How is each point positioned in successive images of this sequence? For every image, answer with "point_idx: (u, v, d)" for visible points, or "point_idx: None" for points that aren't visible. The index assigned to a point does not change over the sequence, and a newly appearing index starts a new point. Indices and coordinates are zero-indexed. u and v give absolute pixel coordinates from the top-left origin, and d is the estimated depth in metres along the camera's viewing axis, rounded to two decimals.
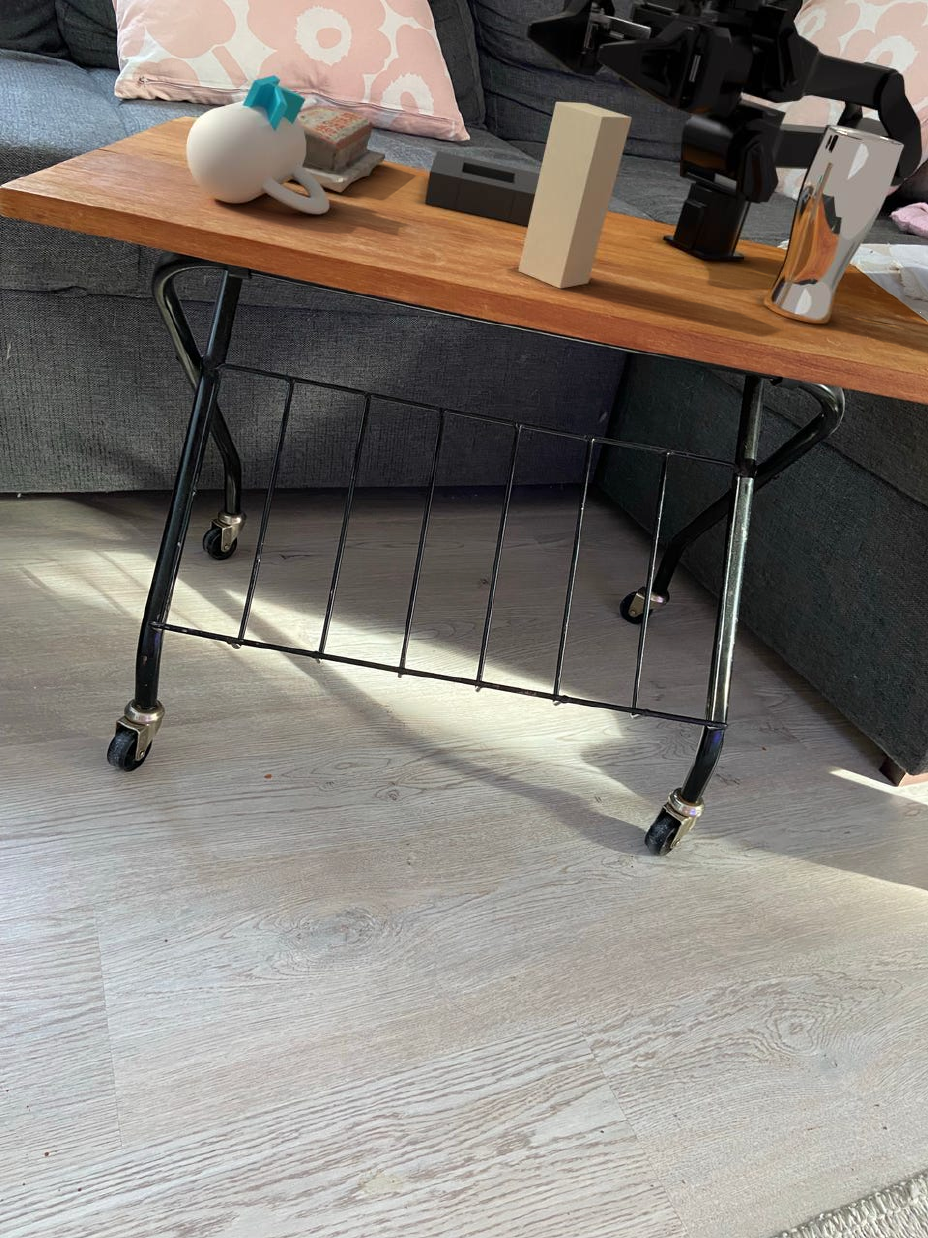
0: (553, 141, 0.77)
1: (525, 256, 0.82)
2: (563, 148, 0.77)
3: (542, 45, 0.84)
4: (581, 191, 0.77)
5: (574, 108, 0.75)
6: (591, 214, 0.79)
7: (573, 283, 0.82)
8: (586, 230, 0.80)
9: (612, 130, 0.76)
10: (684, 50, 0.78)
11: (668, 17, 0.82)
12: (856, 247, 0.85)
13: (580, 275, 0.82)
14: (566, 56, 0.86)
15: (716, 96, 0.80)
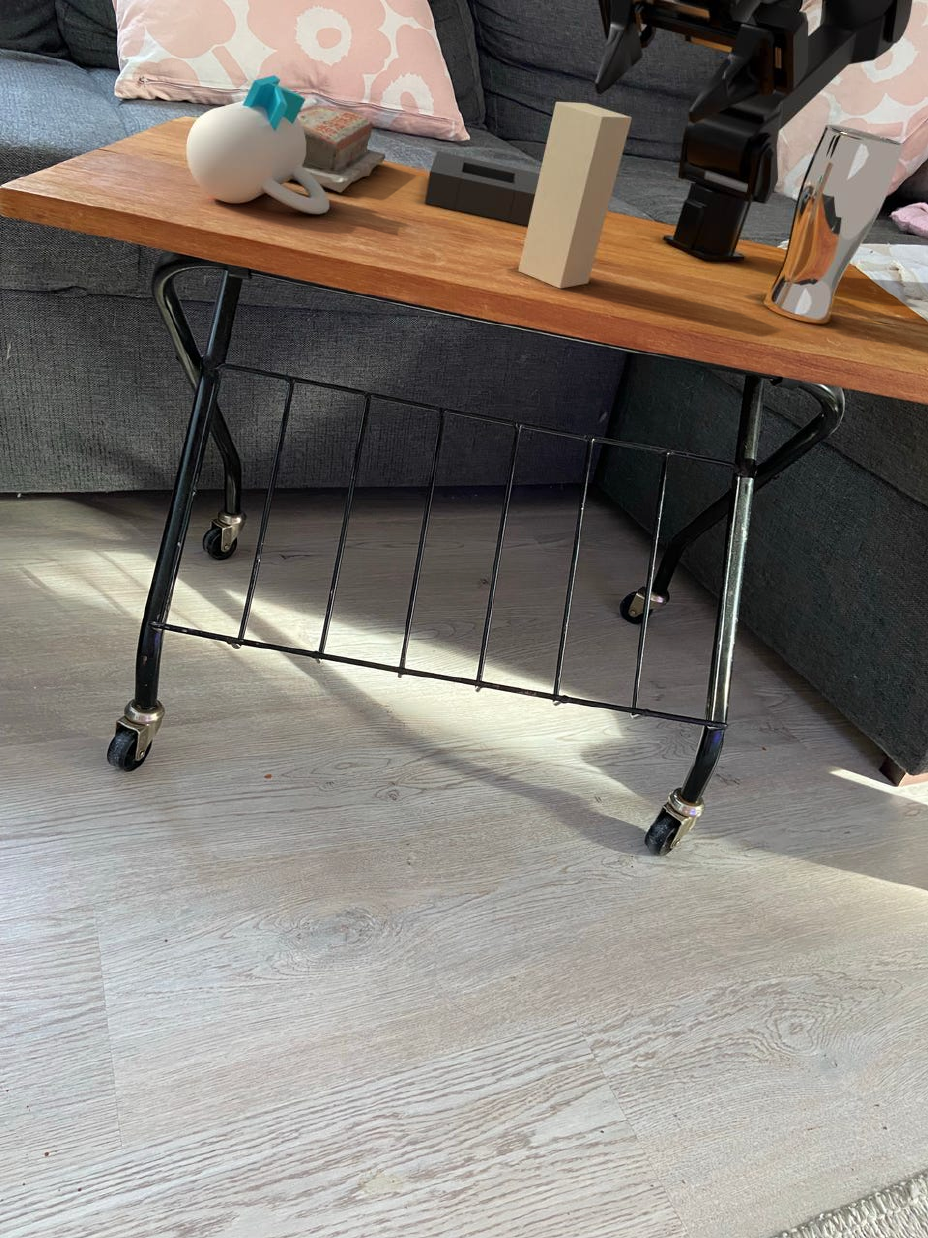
0: (553, 141, 0.77)
1: (525, 256, 0.82)
2: (563, 148, 0.77)
3: (612, 84, 0.84)
4: (581, 191, 0.77)
5: (574, 108, 0.75)
6: (591, 214, 0.79)
7: (573, 283, 0.82)
8: (586, 230, 0.80)
9: (612, 130, 0.76)
10: (764, 54, 0.78)
11: None
12: (856, 247, 0.85)
13: (580, 275, 0.82)
14: (630, 60, 0.85)
15: (806, 62, 0.80)
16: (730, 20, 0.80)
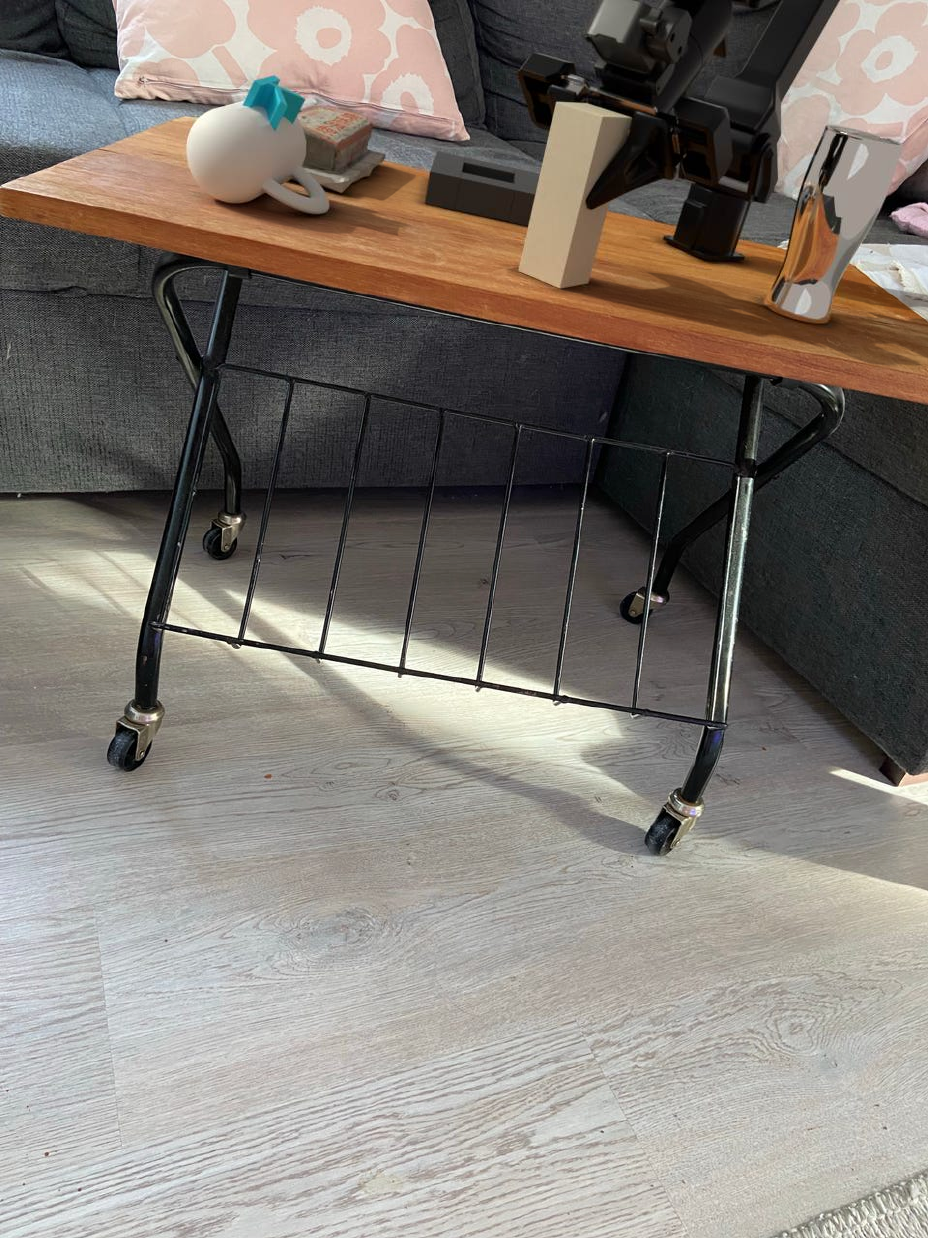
0: (553, 141, 0.77)
1: (525, 256, 0.82)
2: (563, 148, 0.77)
3: None
4: (581, 192, 0.77)
5: (574, 108, 0.75)
6: (591, 214, 0.79)
7: (573, 283, 0.82)
8: (586, 230, 0.80)
9: (612, 131, 0.76)
10: (660, 141, 0.76)
11: (643, 84, 0.77)
12: (856, 247, 0.85)
13: (580, 275, 0.82)
14: None
15: (731, 155, 0.77)
16: None
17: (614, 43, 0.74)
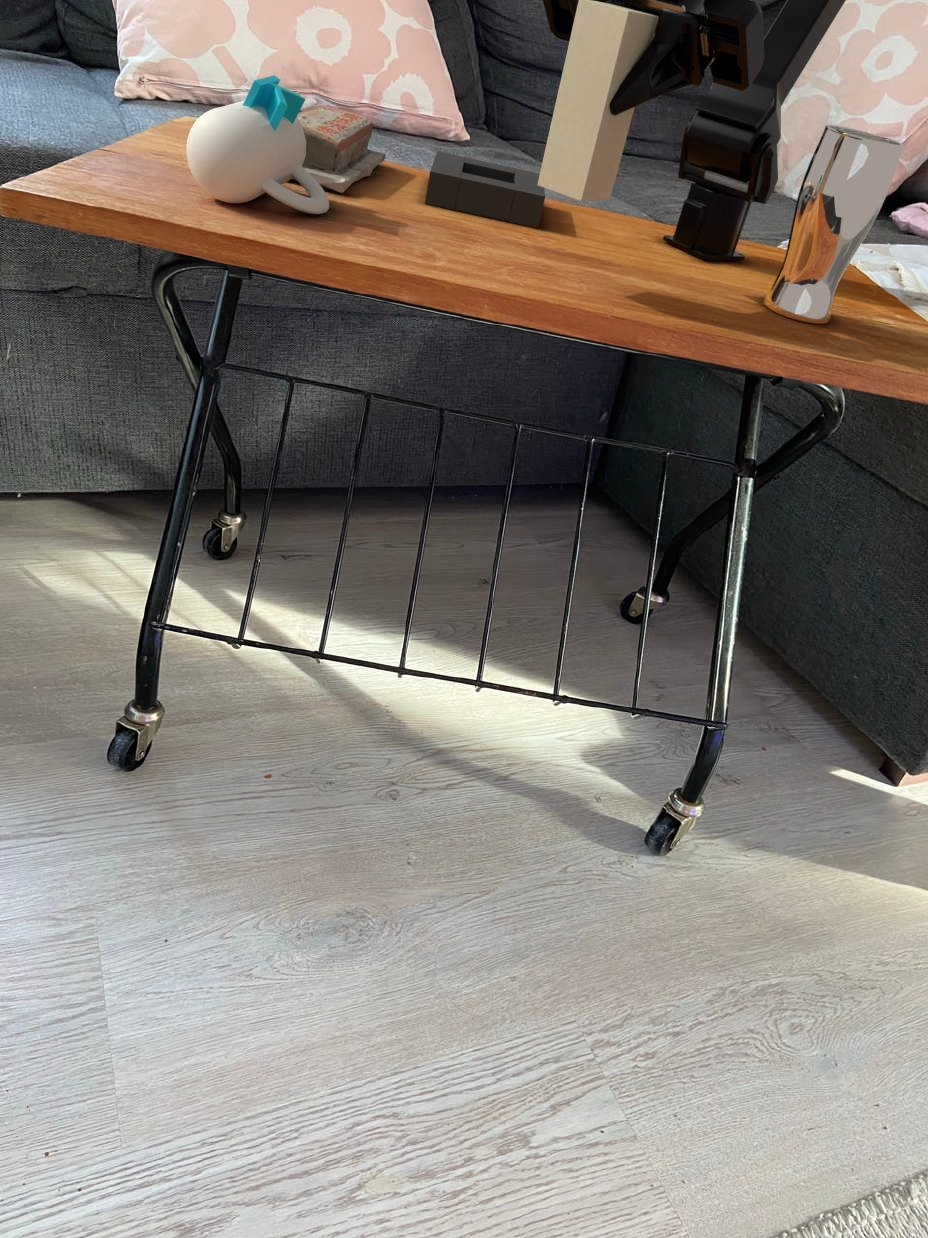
0: (576, 41, 0.73)
1: (545, 168, 0.78)
2: (587, 48, 0.73)
3: None
4: (605, 94, 0.73)
5: (598, 4, 0.71)
6: (615, 122, 0.75)
7: (595, 197, 0.78)
8: (610, 139, 0.76)
9: (638, 29, 0.72)
10: (688, 40, 0.72)
11: None
12: (856, 247, 0.85)
13: (602, 189, 0.79)
14: None
15: (762, 56, 0.73)
16: None
17: None
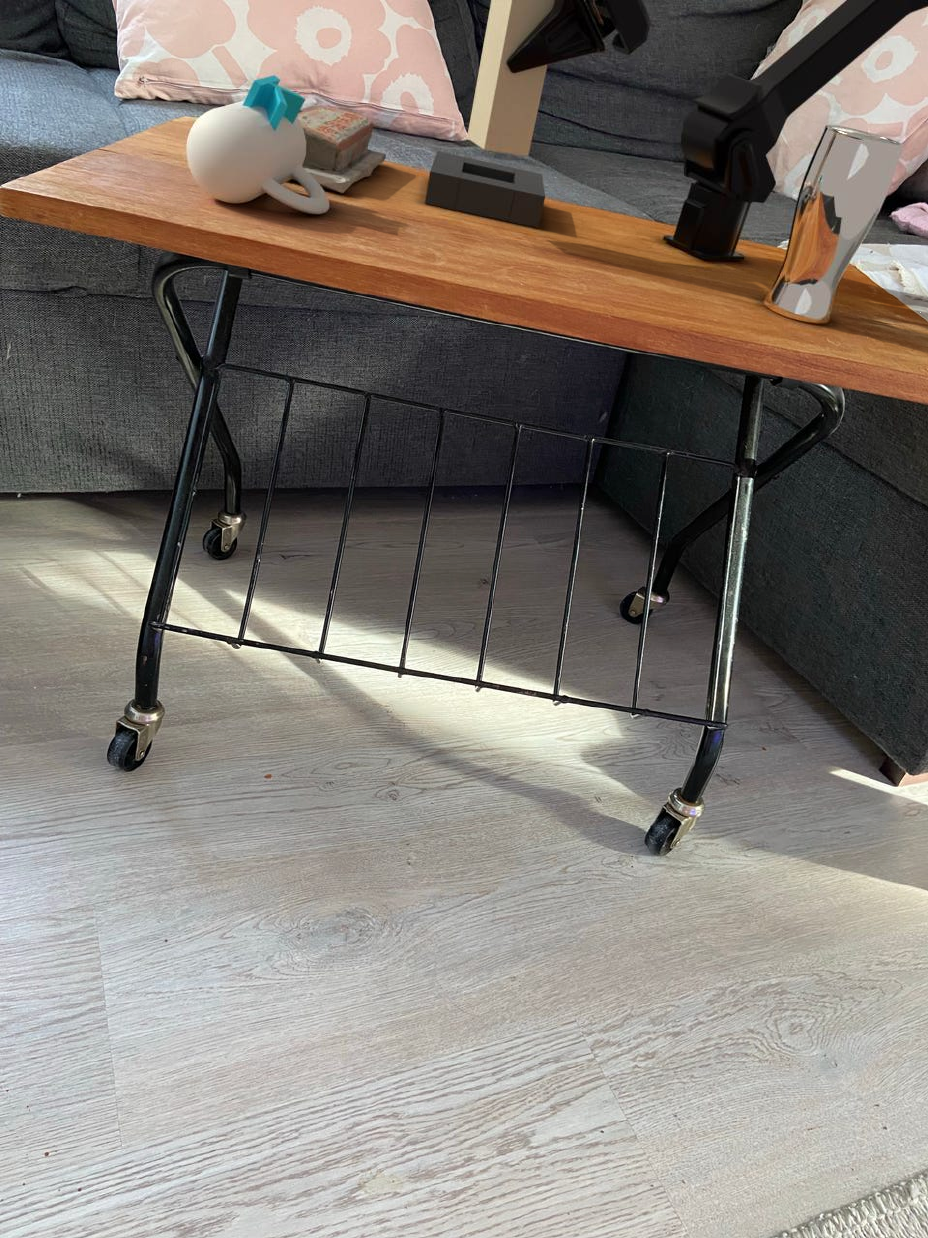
0: (492, 9, 0.84)
1: (471, 123, 0.89)
2: (496, 14, 0.83)
3: None
4: (501, 53, 0.83)
5: None
6: (519, 80, 0.85)
7: (504, 149, 0.88)
8: (514, 96, 0.85)
9: None
10: (578, 7, 0.80)
11: None
12: (856, 247, 0.85)
13: (514, 143, 0.88)
14: None
15: (644, 23, 0.78)
16: None
17: None
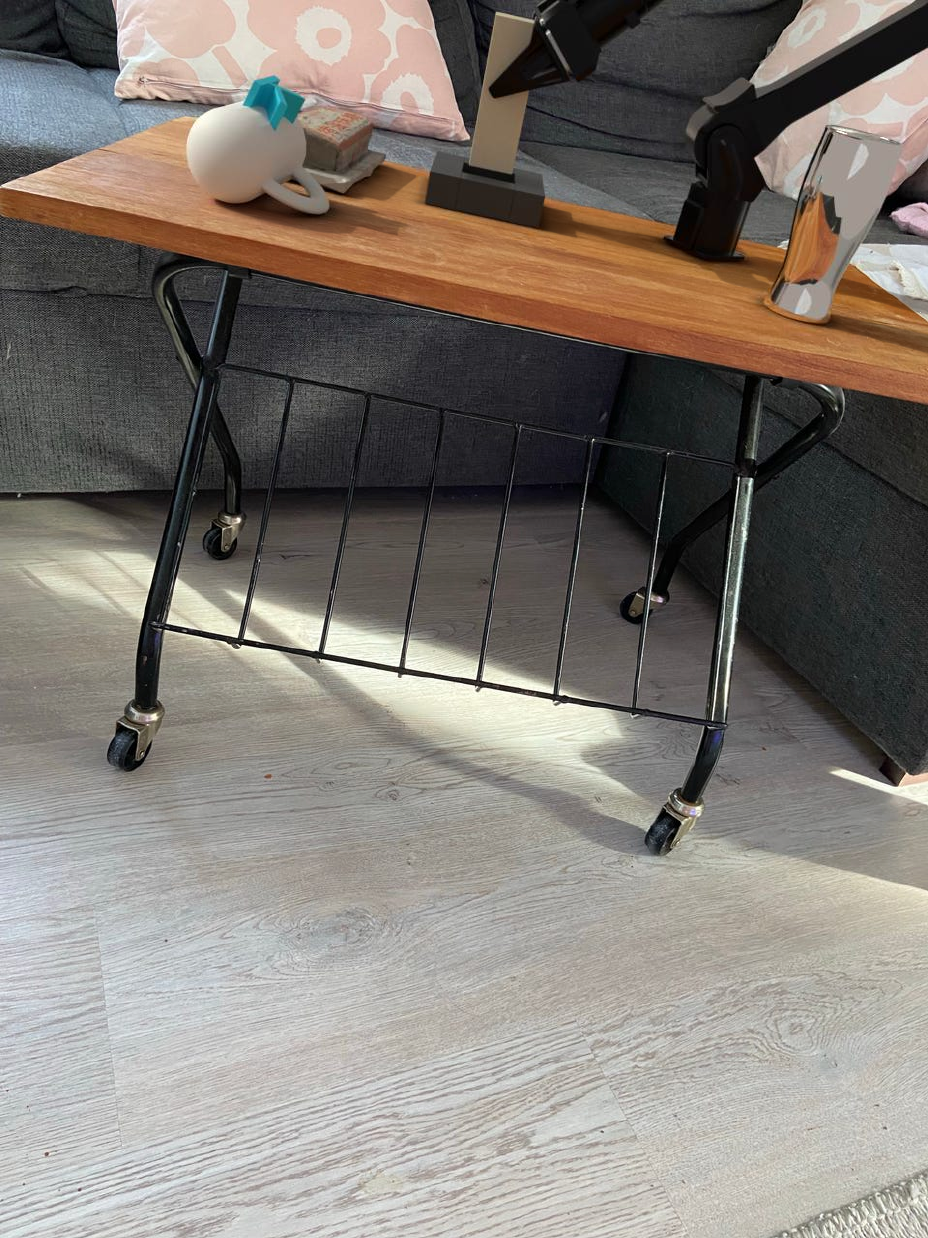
0: None
1: None
2: None
3: None
4: None
5: None
6: (501, 105, 0.94)
7: (488, 166, 0.97)
8: (497, 119, 0.95)
9: (514, 31, 0.91)
10: None
11: None
12: (856, 247, 0.85)
13: (498, 162, 0.97)
14: None
15: (589, 53, 0.85)
16: None
17: None
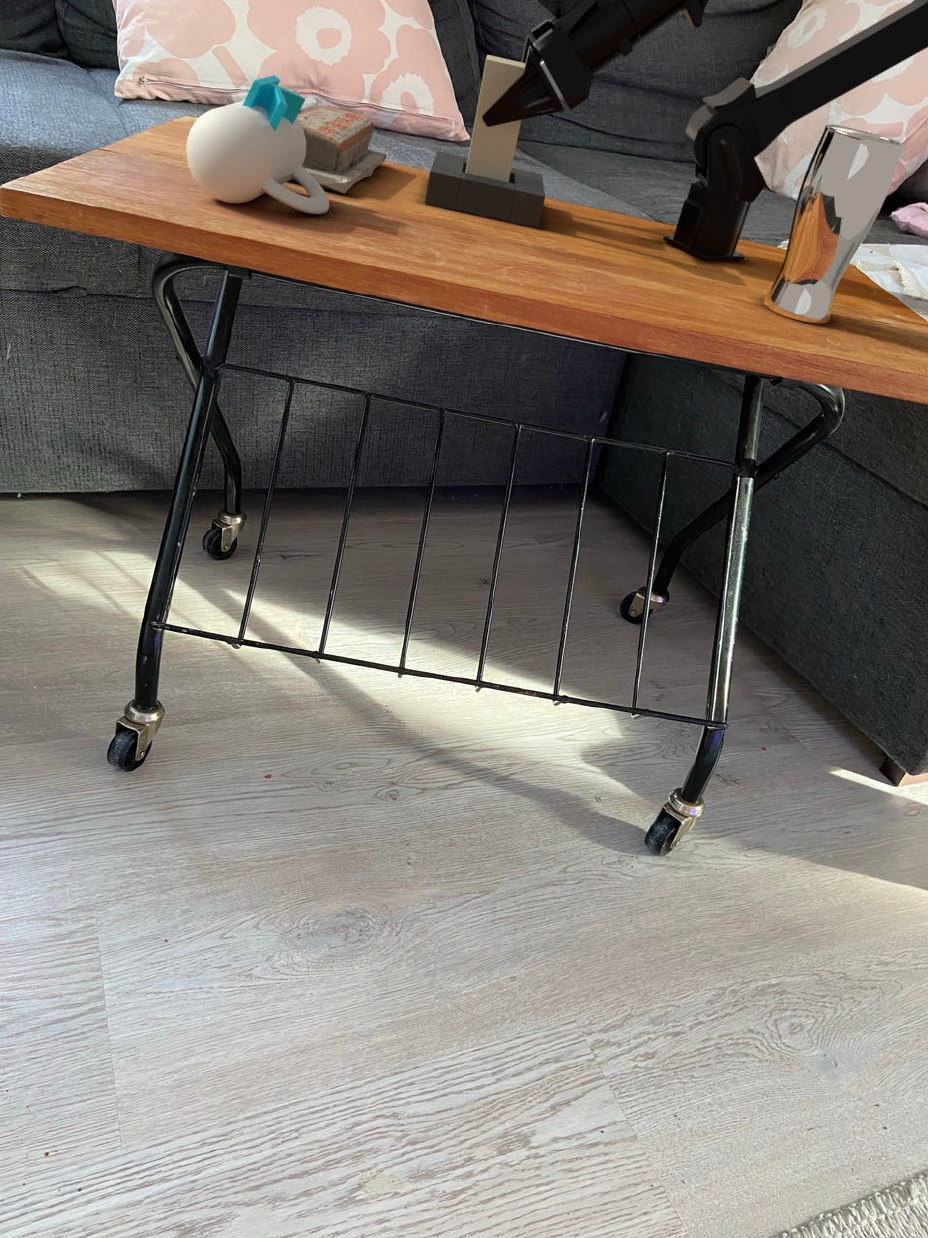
0: None
1: None
2: None
3: None
4: None
5: None
6: (491, 146, 0.96)
7: None
8: (487, 159, 0.97)
9: (504, 75, 0.93)
10: None
11: (554, 27, 0.91)
12: (856, 247, 0.85)
13: None
14: None
15: (582, 82, 0.87)
16: None
17: None
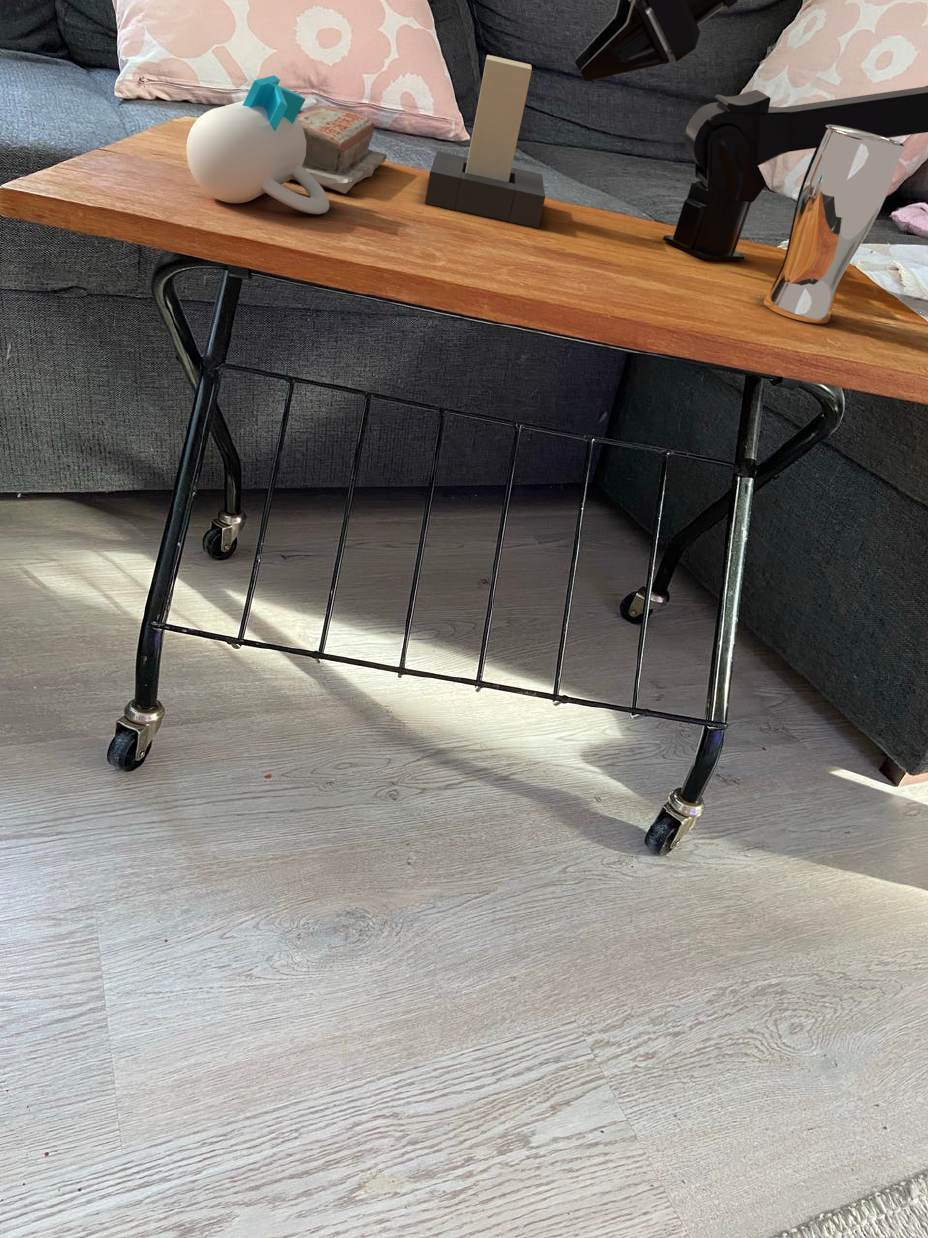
0: None
1: None
2: None
3: None
4: None
5: None
6: (491, 146, 0.96)
7: None
8: (487, 159, 0.97)
9: (504, 74, 0.93)
10: (643, 20, 0.86)
11: None
12: (856, 247, 0.85)
13: None
14: None
15: (690, 31, 0.84)
16: None
17: None
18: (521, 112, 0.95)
